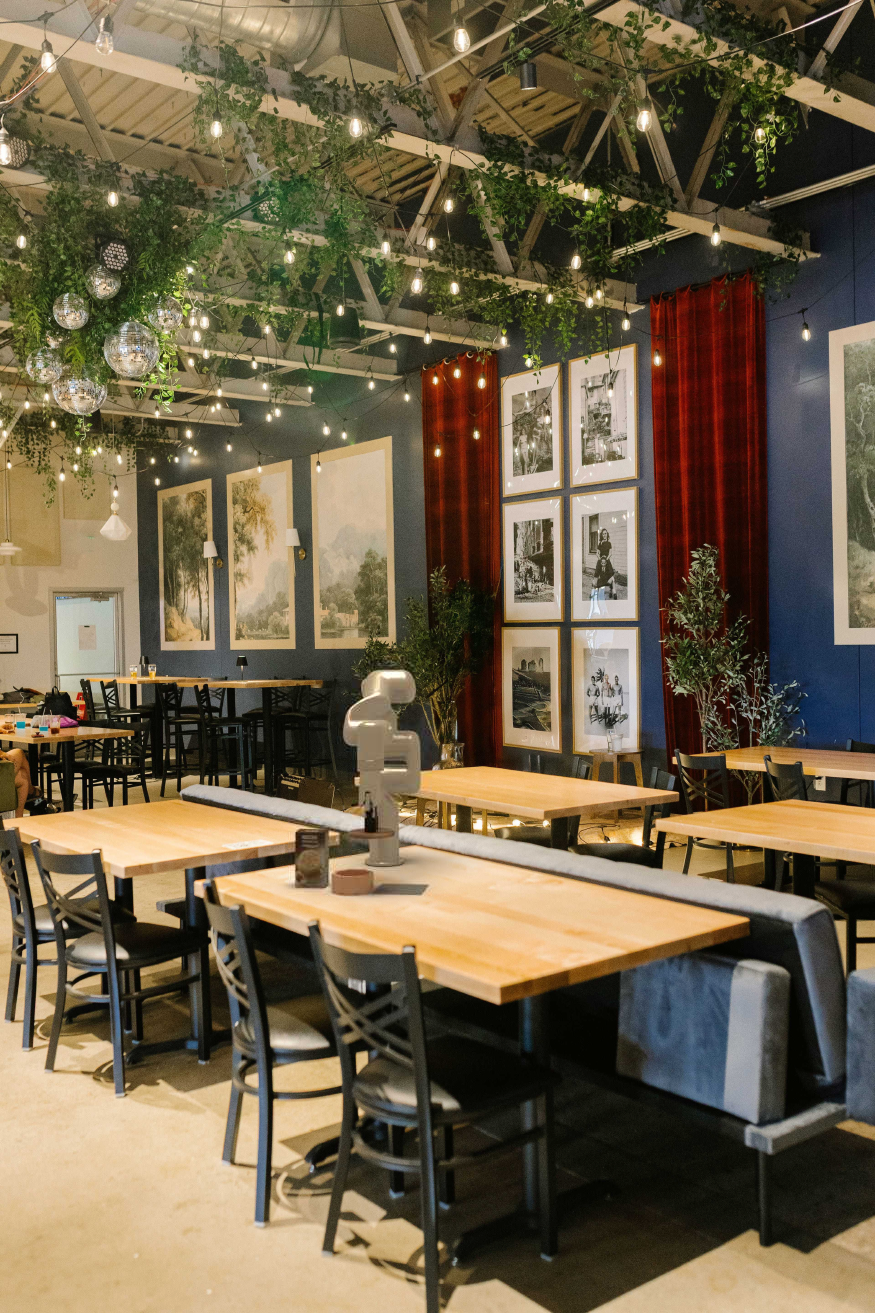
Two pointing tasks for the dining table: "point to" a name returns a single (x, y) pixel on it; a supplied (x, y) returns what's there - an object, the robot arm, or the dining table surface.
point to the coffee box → (312, 858)
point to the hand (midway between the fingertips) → (371, 830)
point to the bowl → (352, 882)
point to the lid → (372, 833)
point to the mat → (401, 889)
